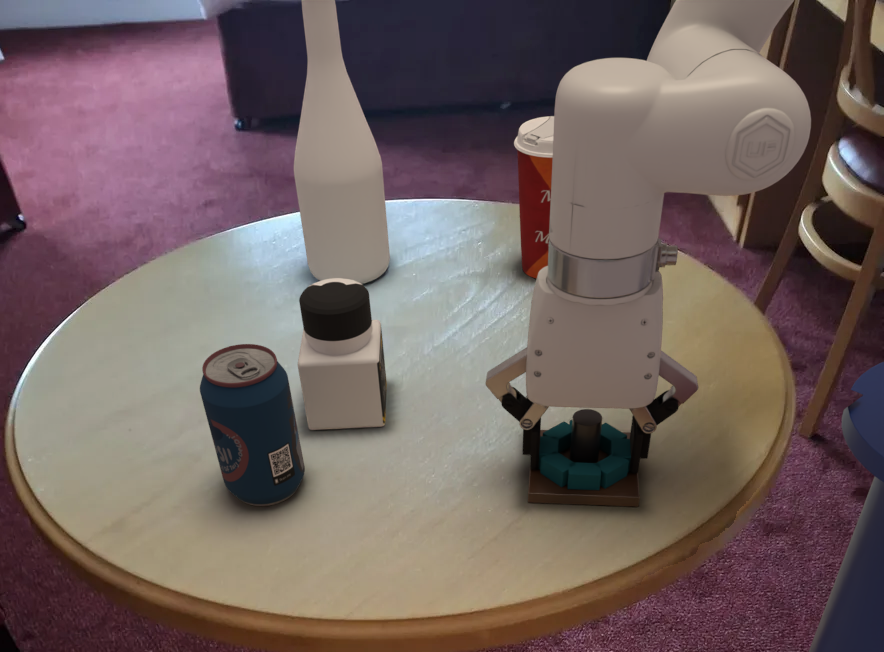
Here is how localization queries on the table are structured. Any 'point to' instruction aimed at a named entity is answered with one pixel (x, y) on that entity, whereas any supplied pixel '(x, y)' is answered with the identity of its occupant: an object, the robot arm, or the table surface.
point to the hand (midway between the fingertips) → (583, 460)
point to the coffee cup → (535, 191)
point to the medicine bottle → (341, 357)
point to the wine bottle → (337, 163)
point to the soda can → (252, 423)
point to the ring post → (584, 451)
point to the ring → (584, 473)
